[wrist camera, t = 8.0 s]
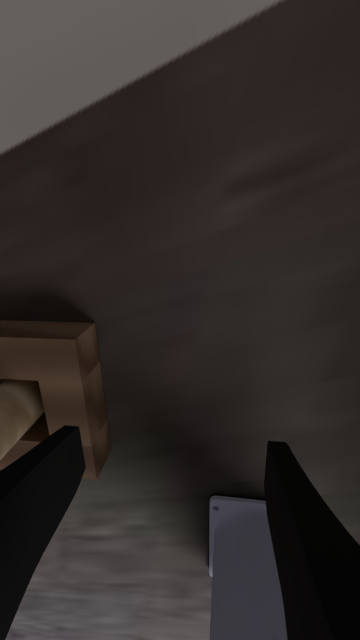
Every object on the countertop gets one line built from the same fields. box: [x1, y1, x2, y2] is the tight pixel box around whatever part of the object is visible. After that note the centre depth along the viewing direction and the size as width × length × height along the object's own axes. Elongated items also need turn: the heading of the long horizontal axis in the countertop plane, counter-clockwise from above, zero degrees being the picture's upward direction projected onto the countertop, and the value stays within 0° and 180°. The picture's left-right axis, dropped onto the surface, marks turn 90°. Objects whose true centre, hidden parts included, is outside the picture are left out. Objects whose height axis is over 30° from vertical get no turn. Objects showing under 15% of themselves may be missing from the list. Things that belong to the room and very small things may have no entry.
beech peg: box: [0, 379, 45, 460], centre depth 21 cm, size 4×4×7 cm
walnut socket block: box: [0, 320, 111, 480], centre depth 23 cm, size 11×11×3 cm
